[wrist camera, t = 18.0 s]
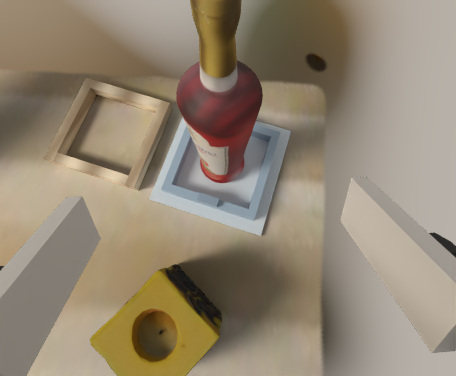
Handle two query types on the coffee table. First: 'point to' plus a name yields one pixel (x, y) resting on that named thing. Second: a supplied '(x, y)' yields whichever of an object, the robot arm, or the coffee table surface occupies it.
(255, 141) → the tray
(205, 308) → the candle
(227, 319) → the coffee table surface
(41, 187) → the coffee table surface
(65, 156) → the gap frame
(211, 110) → the liquor
